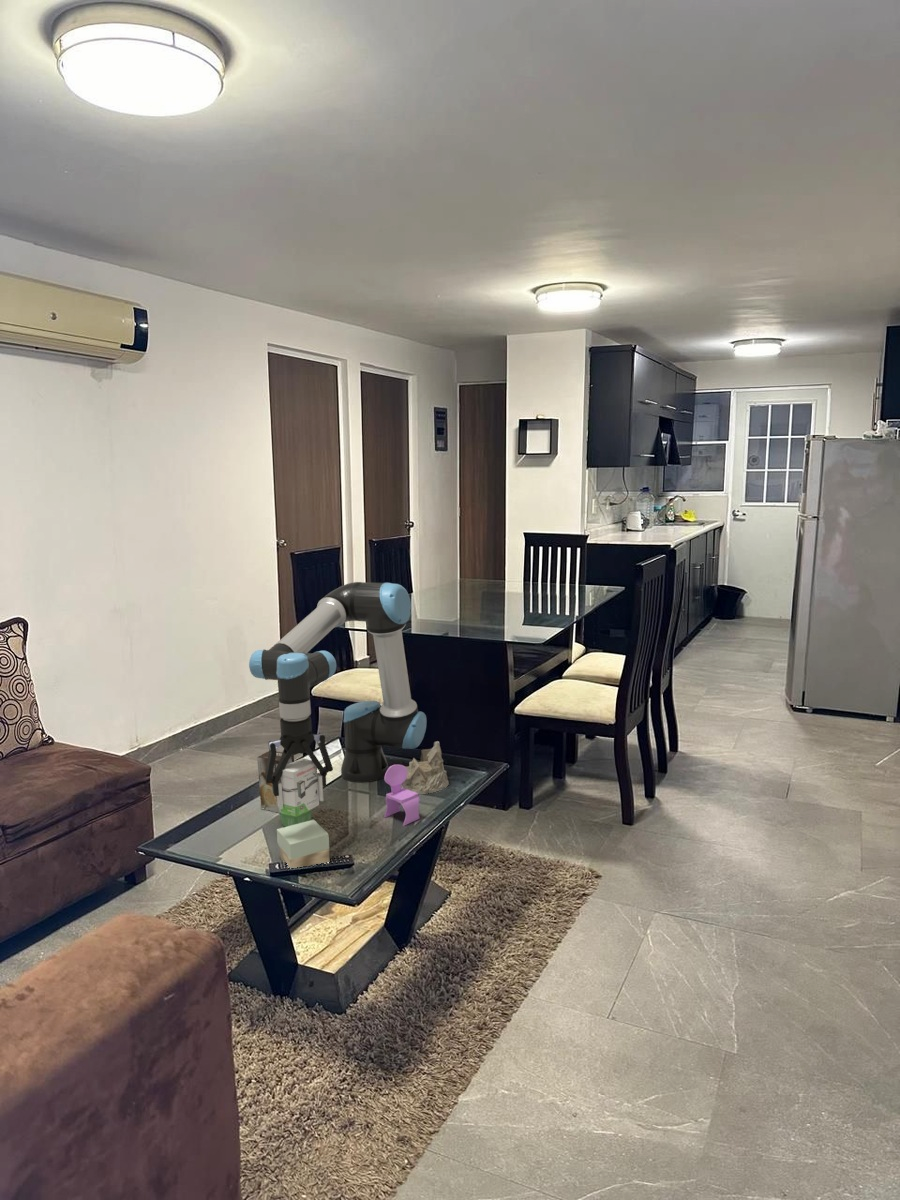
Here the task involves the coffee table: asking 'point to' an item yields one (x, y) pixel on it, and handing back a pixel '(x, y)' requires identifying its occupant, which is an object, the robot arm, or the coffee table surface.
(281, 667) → the robot arm
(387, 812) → the toy chair
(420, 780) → the ceramic cottage
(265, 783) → the coffee box
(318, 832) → the top slab
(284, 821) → the ramekin
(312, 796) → the ink box
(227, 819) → the coffee table surface
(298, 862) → the bottom slab
